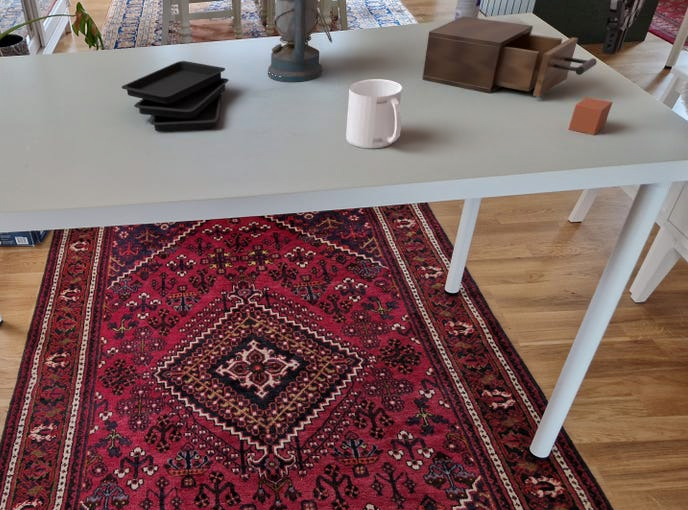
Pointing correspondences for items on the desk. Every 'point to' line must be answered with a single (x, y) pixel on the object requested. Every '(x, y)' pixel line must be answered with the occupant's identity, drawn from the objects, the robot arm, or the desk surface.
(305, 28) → the lantern
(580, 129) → the block
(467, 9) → the beverage can
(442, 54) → the cabinet
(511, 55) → the drawer
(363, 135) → the mug
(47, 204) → the desk surface
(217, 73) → the tray
